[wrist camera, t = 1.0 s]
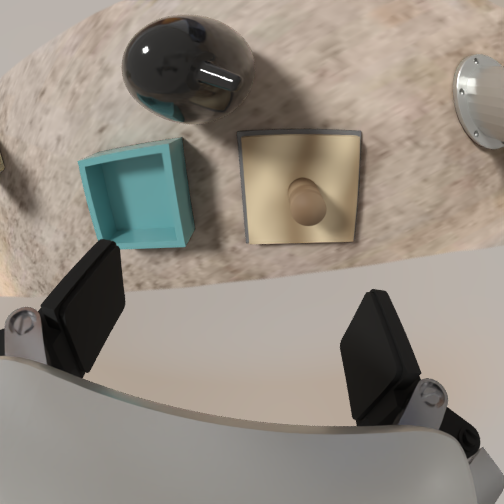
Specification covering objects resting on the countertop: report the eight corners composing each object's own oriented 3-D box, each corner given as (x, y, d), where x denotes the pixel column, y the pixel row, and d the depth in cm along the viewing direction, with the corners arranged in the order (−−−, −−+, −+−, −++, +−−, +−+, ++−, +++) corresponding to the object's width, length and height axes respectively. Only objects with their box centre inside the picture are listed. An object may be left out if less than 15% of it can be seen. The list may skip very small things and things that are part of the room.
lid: (356, 135, 27) (377, 145, 21) (350, 236, 33) (364, 264, 27) (242, 136, 28) (235, 145, 22) (250, 239, 34) (246, 268, 28)
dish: (182, 137, 28) (168, 143, 24) (195, 228, 34) (185, 246, 30) (98, 152, 29) (77, 161, 25) (116, 233, 35) (101, 250, 31)
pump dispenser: (233, 136, 28) (200, 169, 15) (147, 103, 26) (58, 116, 13) (275, 52, 23) (282, 6, 10) (184, 21, 22) (117, -29, 8)
